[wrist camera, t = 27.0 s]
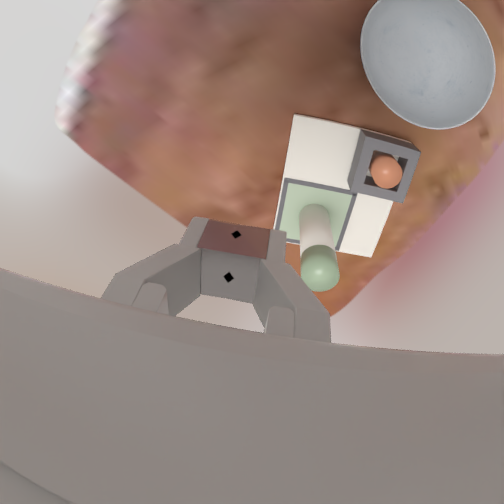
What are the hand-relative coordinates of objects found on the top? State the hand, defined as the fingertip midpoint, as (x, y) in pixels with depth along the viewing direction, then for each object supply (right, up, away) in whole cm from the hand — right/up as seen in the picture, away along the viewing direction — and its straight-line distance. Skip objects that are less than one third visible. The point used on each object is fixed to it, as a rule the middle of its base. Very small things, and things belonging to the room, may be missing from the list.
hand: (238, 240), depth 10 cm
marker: (+9, +4, +31) cm, 33 cm away
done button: (+16, +11, +25) cm, 32 cm away
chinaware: (+18, +22, +17) cm, 34 cm away
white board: (+12, +8, +29) cm, 32 cm away
